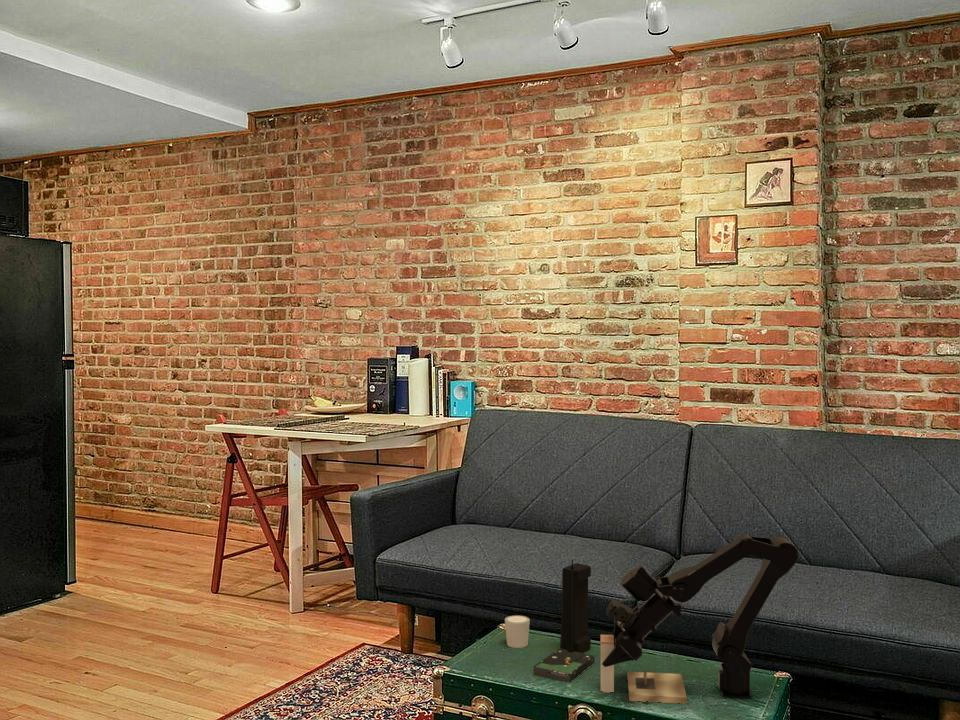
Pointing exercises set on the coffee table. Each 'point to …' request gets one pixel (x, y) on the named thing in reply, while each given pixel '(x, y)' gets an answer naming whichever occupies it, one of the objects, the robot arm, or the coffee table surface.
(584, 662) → the disk drive
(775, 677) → the coffee table surface
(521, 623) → the white cup
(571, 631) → the dark tower with antenna
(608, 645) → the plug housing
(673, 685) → the header board
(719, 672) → the robot arm
